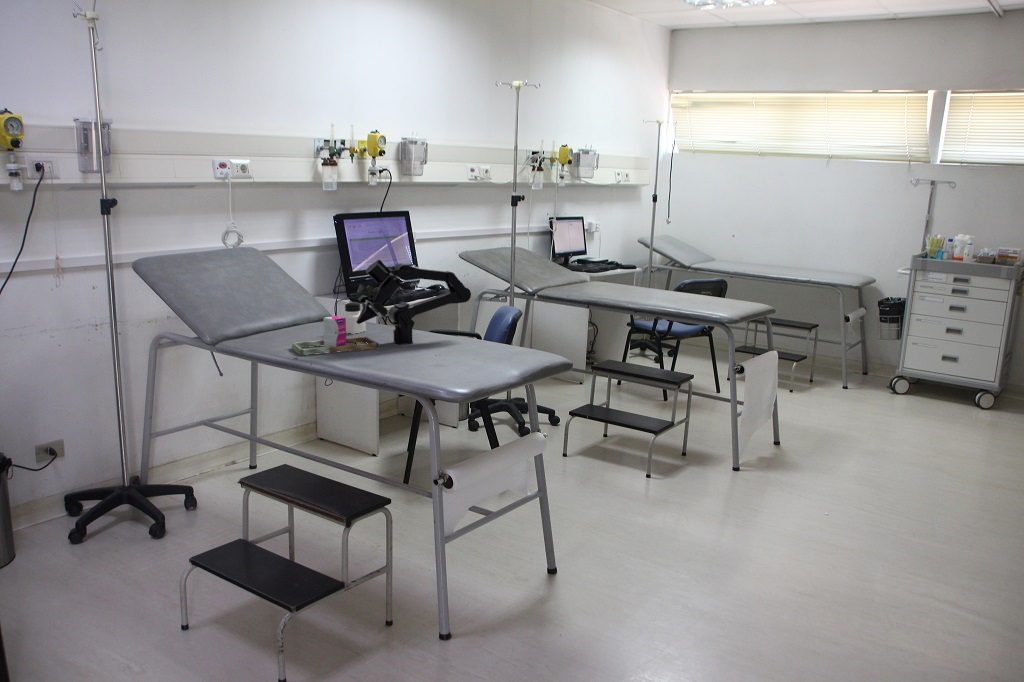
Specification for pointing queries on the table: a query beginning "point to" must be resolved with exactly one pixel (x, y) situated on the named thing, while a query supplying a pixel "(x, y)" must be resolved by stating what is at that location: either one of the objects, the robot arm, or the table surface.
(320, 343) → the box
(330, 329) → the supplement box
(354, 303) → the medicine bottle
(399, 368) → the table surface
